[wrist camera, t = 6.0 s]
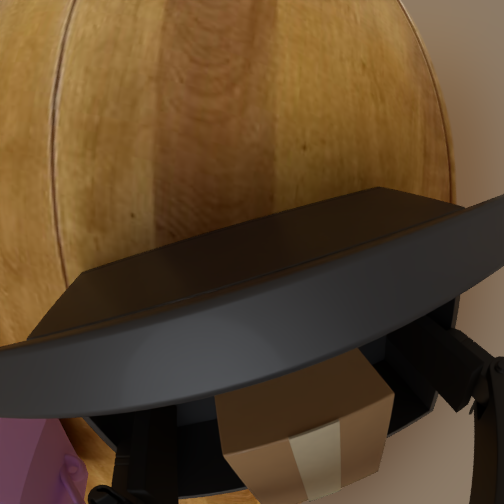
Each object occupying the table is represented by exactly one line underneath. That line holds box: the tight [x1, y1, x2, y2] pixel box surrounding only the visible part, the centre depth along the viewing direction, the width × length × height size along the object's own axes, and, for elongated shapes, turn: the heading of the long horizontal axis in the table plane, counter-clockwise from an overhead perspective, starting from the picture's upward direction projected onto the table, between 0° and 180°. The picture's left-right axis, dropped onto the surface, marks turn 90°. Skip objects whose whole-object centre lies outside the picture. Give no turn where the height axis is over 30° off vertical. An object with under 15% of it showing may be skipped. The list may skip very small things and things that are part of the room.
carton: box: [27, 187, 465, 499], centre depth 13 cm, size 17×13×6 cm
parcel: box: [214, 348, 395, 504], centre depth 11 cm, size 5×6×9 cm
